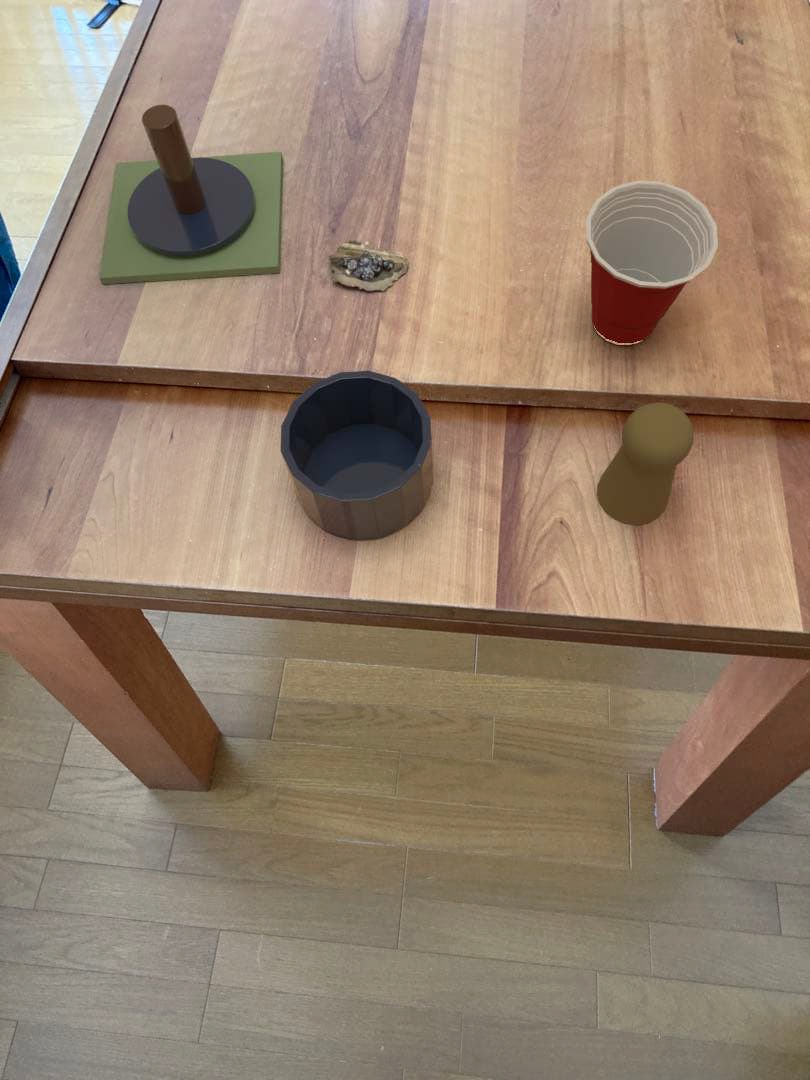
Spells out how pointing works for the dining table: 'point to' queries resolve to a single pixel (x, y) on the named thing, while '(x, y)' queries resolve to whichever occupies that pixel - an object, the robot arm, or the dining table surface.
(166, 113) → the lid
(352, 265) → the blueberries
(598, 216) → the plastic cup
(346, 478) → the pot
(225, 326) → the dining table surface
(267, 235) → the mat
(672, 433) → the pepper shaker
